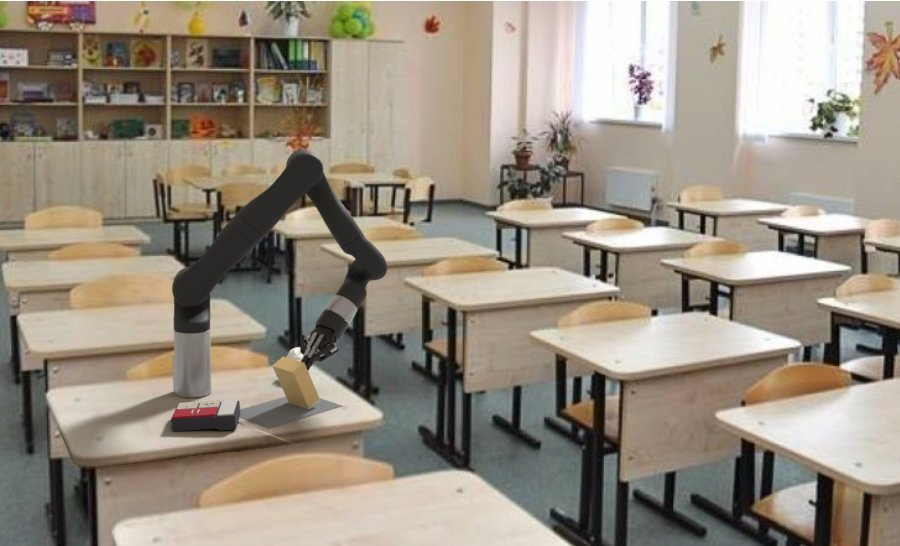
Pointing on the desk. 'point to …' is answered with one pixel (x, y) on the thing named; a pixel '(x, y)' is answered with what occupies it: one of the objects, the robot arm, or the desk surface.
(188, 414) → the red and grey box
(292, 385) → the ochre block
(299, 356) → the white figurine
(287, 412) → the charcoal mat
